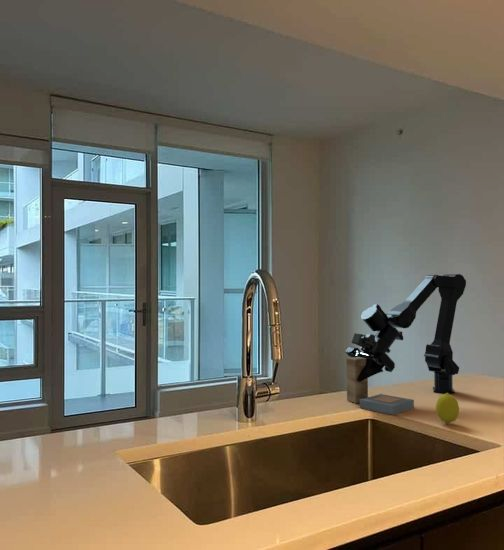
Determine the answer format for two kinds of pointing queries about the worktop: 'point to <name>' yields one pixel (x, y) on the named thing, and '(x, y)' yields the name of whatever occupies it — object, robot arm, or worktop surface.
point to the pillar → (353, 386)
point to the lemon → (447, 408)
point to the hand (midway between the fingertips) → (353, 379)
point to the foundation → (386, 404)
